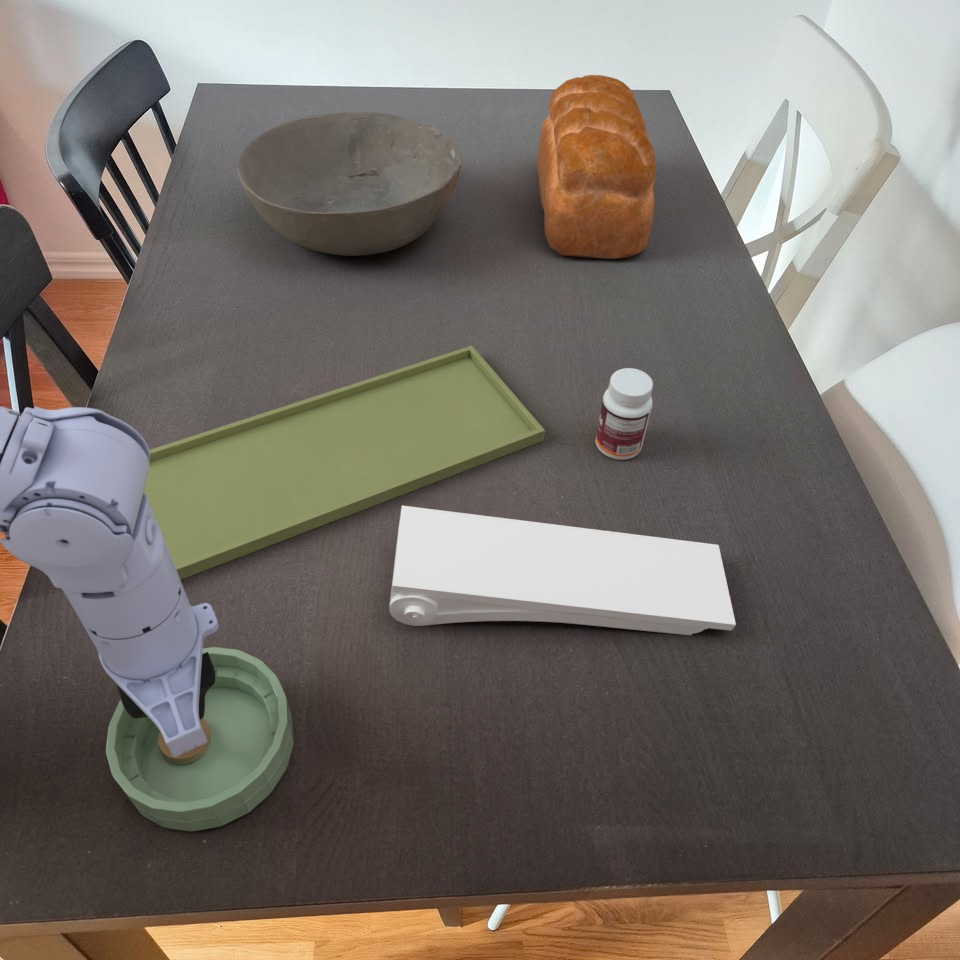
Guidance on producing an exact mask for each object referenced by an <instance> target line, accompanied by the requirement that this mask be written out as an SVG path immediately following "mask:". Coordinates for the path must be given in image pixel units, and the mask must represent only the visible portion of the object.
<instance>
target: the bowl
mask: <svg viewBox="0 0 960 960" xmlns="http://www.w3.org/2000/svg"><path fill="white" fill-rule="evenodd" d="M236 166H237V167H236V168H237V169H236V172H237V174H238V179H239V182H240V185H241V187H242V189H243V191H244V193H245V194H246V196H247V198H248V199H249V201H250V202H251V203H252V205H253V206H254V208H255V209H256V211H257V213H258V214H259V215H260V216H261V218H262V219H263V220H265V222H266V223H267V224H268V225H269V226H271V227H272V228H273V229H274V230H275V231H276V232H277V233H279V234H280V235H281V236H283V237H284V238H285V239H287V240H289V241H290V242H292V243H294V244H296V245H298V246H300V247H303V248H306V249H308V250H311V251H315V252H318V253H322V254H323V253H324V254H329V255H334V256H335V255H336V256H347V257H348V256H349V257H351V256H352V257H355V256H356V257H357V256H371V255H377V254H382V253H386V252H391V251H394V250H397V249H399V248H402V247H404V246H406V245H408V244H410V243H411V242H413V241H414V240H416V239H418V238H419V237H421V236H422V235H423V234H424V233H425V232H427V231H428V230H429V229H430V228H431V226H432V225H433V224H434V223H435V221H436V220H437V218H438V217H439V216H440V214H441V213H442V210H443V208H444V207H445V205H446V204H447V203H448V201H449V199H450V197H451V196H452V194H453V191H454V189H455V187H456V184H457V182H458V180H459V177H460V173H461V168H462V152H461V150H460V147H458V145H457V143H456V141H454V139H452V138H449V137H448V138H445V137H444V136H443V135H442V133H441V131H440V129H439V128H437V127H434V126H432V125H423V124H421V123H417V122H415V121H413V120H410V119H407V118H405V117H403V116H399V115H395V114H389V113H384V112H376V111H342V112H334V113H325V114H311V115H307V116H304V117H300V118H296V119H293V120H290V121H287V122H283V123H280V124H278V125H276V126H275V127H272V128H270V129H269V130H267V131H265V132H263V133H261V134H259V135H257V137H255V138H253V139H252V140H251V141H250V142H248V144H246V145H245V146H244V148H243V149H242V151H241V152H240V155H239V157H238V160H237V165H236Z"/></svg>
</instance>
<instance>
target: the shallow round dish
mask: <svg viewBox="0 0 960 960" xmlns="http://www.w3.org/2000/svg"><path fill="white" fill-rule="evenodd" d="M206 652H208V654H209V656H210V659H211V661H212V664H213V666H214V669H215V683H214V685H213V686H212V687H210V689H209V690H208V691H207V693H206V695H205V712H204V717H203V719H204V720H205V721H206V722H207V723H208V725H209V727H210V733H211V742H210V745H209V747H208V749H207V751H206V752H205V753H204V754H203V755H202V756H201V757H200V758H198V759H197V760H195V761H193V762H190V763H186V764H176V763H172V762H170V761H168V760H166V759H165V758H164V757H163V756H162V754H161V752H160V749H159V745H158V735H159V732H160V730H159V728H158V727H157V726H156V725H155V724H154V722H153V721H152V720H151V719H150V718H149V717H142V718H133V717H132V716H130V715H129V714H128V713H127V711H126V710H125V708H124V706H123V704H122V701H121V699H120V700H119V701H118V704H117V706H116V708H115V710H114V712H113V715H112V717H111V719H110V722H109V723H108V726H107V737H106V745H105V746H106V747H105V754H106V758H107V761H108V766H109V769H110V773H111V776H112V778H113V779H114V780H115V782H116V783H117V785H118V786H119V787H120V789H121V791H122V792H123V793H124V795H125V796H126V798H127V799H128V800H129V802H130V803H131V804H132V805H133V806H134V807H135V809H136V810H137V812H138V813H139V814H140V815H141V816H142V817H143V818H145V819H148V820H149V821H151V822H153V823H155V824H157V825H158V826H160V827H162V828H165V829H170V830H177V831H185V832H198V831H203V830H209V829H214V828H215V829H216V828H220V827H223V826H225V825H227V824H229V823H231V822H233V821H236V820H238V819H240V818H241V817H243V816H245V815H248V814H249V813H251V812H252V811H253V810H254V809H255V808H256V807H257V806H258V805H259V804H261V803H262V802H263V801H264V800H265V799H267V797H268V796H269V795H271V793H272V792H273V791H274V789H275V788H276V786H277V785H278V783H279V781H280V780H281V778H282V777H283V775H284V773H285V772H286V770H288V769H287V768H288V766H289V762H290V759H291V755H292V752H293V748H294V742H295V740H294V739H295V737H294V720H293V716H292V712H291V709H290V705H289V702H288V699H287V696H286V693H285V691H284V689H283V687H282V684H281V682H280V679H279V677H278V676H277V674H276V673H274V671H273V670H272V669H271V668H270V667H269V666H268V665H266V663H264V661H262V659H259V658H257V657H255V656H253V655H251V654H248V653H246V652H244V651H242V650H240V649H235V648H227V647H217V646H211V647H205V648H204V647H203V651H202V654H203V653H206Z"/></svg>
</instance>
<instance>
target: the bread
mask: <svg viewBox="0 0 960 960" xmlns="http://www.w3.org/2000/svg"><path fill="white" fill-rule="evenodd" d="M548 103H549V104H548V112H549V115H547V117H546V118H545V120H544V121H542V125H541V130H540V136H539V140H538V141H539V142H538V149H537V160H536V168H537V175H538V188H539V190H538V191H539V198H540V204H541V208H542V210H543V214H544V217H543V228H544V235H545V238H546V241H547V244H548V247H549V248H550V249H552V250H553V251H555V252H556V253H557V254H559V255H560V256H564V257H573V258H588V259H590V258H591V259H602V260H603V259H604V260H607V259H608V260H609V259H610V260H611V259H612V260H613V259H624V258H630V257H633V256H637V255H639V254H640V253H641V252H642V251H644V250H645V249H646V248H647V247H648V243H649V239H650V235H651V231H652V227H653V223H654V222H653V221H654V210H655V191H654V184H655V182H656V155H655V150H654V147H653V145H652V144H651V142H650V139H649V136H648V135H649V134H648V132H647V128H646V123H645V119H644V117H643V115H642V112H641V109H640V106H639V104H638V102H637V100H636V98H635V94H634V92H633V90H632V88H630V87H629V86H628V85H627V84H626V83H625V82H624V81H621V80H620V79H618V78H615V77H611V76H607V75H600V74H587V75H583V76H581V77H580V76H579V77H574V78H573V77H572V78H570V79H567V80H565V81H564V82H563V83H561V84H560V85H559V86H558V87H556V88H555V89H554V90H552V92H551V95H550V98H549V102H548Z"/></svg>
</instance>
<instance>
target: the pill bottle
mask: <svg viewBox="0 0 960 960" xmlns="http://www.w3.org/2000/svg"><path fill="white" fill-rule="evenodd" d="M653 388H654V382H653V379H652V378H651V376H650V375H649V374H647V373H646V371H643V370H641V369H638V368H632V367H625V368H621V369H618V370H616V371H614V372H613V373H612V375H611V376H610V379H609V383H608V387H607V389H606V390H605V392H604V393H603V396H602V398H601V407H600V412H599V417H598V422H597V431H596V434H595V445H596V447H597V449H598V450H599V452H601V454H603V455H604V456H606V457H608V458H610V459H613V460H617V461H618V460H619V461H626V460H629V459H630V460H631V459H633V458H635V457H637V456H638V455H639V454H640V453H641V451H642V449H643V445H644V441H645V437H646V433H647V429H648V425H649V420H650V417H651V413H652V409H653V402H654V401H653V397H652V394H653Z"/></svg>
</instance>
